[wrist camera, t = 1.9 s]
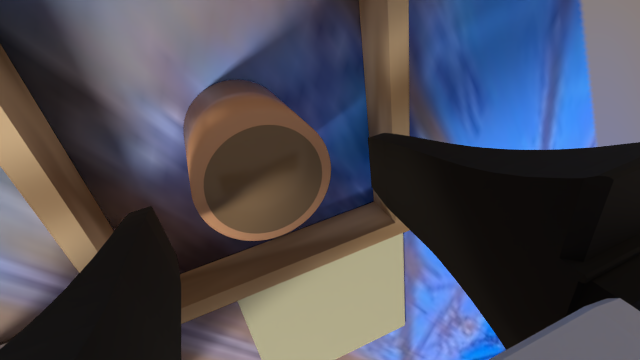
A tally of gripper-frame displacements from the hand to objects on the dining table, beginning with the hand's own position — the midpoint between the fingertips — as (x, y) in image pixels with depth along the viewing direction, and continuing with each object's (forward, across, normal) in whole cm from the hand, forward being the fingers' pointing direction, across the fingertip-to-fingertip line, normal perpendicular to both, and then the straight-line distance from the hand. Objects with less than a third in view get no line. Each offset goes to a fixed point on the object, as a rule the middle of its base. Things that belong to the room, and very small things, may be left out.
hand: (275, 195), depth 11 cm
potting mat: (+6, -3, +15) cm, 17 cm away
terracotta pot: (+7, 0, 0) cm, 7 cm away
